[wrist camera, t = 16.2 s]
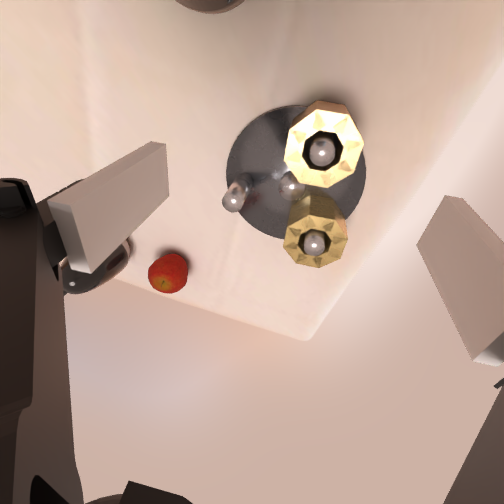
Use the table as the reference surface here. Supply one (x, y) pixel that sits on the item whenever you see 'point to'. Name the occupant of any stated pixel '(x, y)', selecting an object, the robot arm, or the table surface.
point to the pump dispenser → (94, 272)
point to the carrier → (283, 176)
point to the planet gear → (320, 218)
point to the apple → (168, 273)
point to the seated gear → (346, 151)
